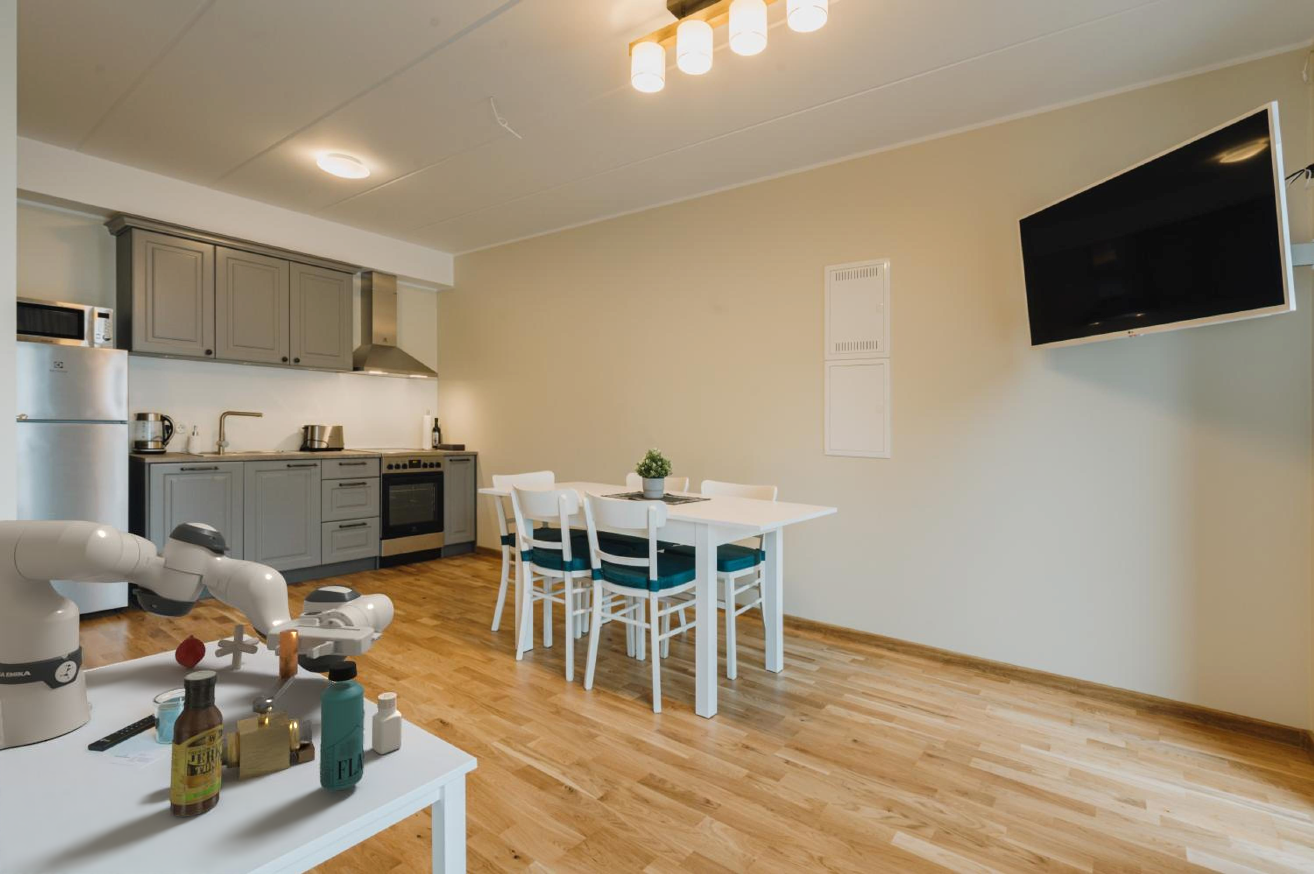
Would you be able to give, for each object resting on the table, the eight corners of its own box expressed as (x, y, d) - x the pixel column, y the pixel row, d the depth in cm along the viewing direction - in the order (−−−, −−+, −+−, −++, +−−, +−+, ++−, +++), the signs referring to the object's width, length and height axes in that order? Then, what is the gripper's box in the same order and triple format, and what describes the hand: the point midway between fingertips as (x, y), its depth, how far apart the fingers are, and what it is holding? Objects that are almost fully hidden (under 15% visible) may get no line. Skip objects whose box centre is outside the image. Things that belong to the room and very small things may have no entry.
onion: (168, 671, 147) (168, 637, 147) (190, 663, 153) (190, 629, 153) (190, 673, 146) (190, 639, 146) (211, 664, 152) (211, 631, 152)
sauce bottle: (187, 823, 92) (189, 686, 92) (159, 813, 94) (161, 679, 94) (231, 800, 98) (233, 671, 97) (204, 790, 100) (205, 664, 100)
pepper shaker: (370, 748, 114) (371, 695, 114) (392, 740, 117) (393, 689, 117) (380, 756, 111) (381, 702, 111) (402, 748, 114) (403, 695, 114)
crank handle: (270, 711, 106) (271, 656, 106) (249, 713, 105) (249, 658, 105) (300, 677, 121) (300, 628, 121) (281, 678, 120) (282, 629, 120)
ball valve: (182, 796, 98) (182, 735, 98) (181, 779, 103) (181, 720, 103) (315, 760, 110) (315, 705, 110) (309, 746, 114) (309, 693, 114)
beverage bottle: (334, 805, 97) (335, 674, 97) (309, 791, 100) (311, 665, 100) (373, 785, 102) (374, 661, 102) (348, 773, 106) (350, 653, 106)
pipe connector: (233, 679, 144) (236, 635, 144) (199, 671, 147) (202, 628, 146) (271, 664, 153) (274, 623, 153) (238, 657, 156) (241, 617, 156)
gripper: (386, 648, 131) (345, 673, 118) (295, 642, 134) (245, 666, 120) (387, 618, 131) (345, 639, 118) (296, 612, 134) (245, 632, 120)
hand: (294, 653), depth 119 cm, fingers open, 5 cm apart
